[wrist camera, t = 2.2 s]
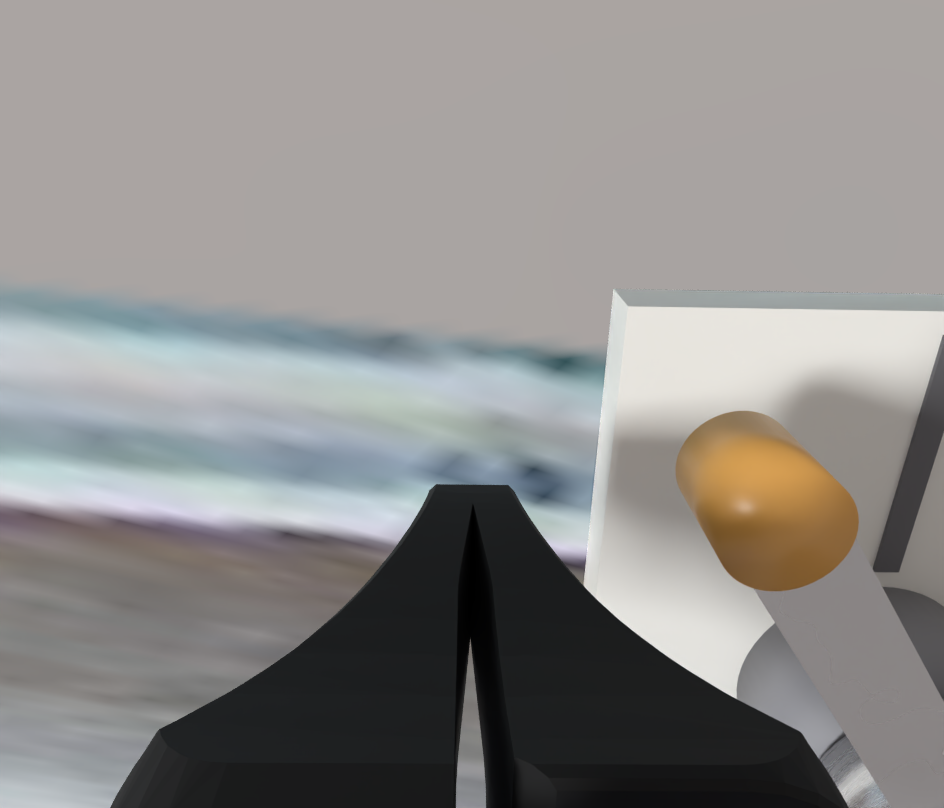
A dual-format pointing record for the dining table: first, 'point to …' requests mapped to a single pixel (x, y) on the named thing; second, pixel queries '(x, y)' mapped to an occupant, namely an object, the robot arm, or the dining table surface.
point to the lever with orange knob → (820, 602)
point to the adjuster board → (812, 424)
